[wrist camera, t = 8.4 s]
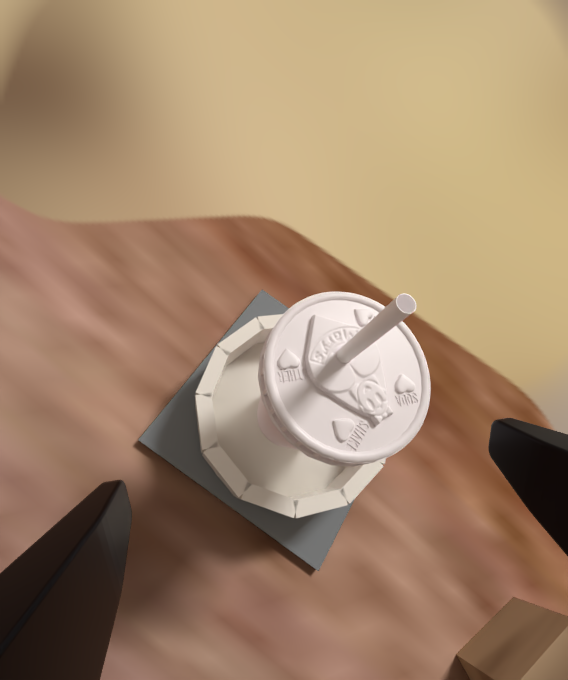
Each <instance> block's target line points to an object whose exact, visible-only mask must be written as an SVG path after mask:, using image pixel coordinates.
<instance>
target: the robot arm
mask: <svg viewBox="0 0 568 680" xmlns="http://www.w3.org/2000/svg"><path fill="white" fill-rule="evenodd" d="M489 453H490V456H491V458H492V459H493V461H494V462H495V464H496V465H497V466H498V468H499V469H500V471H501V472H502V473H503V475H504V476H505V478H506V479H507V480H508V482H509V483H510V485H511V486H512V487H513V489H514V490H515V492H516V493H517V495H518V496H519V497H520V499H521V500H522V502H523V503H524V504H525V506H526V507H527V508H528V510H529V511H530V512H531V513H532V515H533V516H534V517H535V518H536V519H537V521H538V522H539V523H540V524H541V525H542V527H543V528H544V529H545V530H546V531H547V532H548V534H549V535H550V536H551V537H552V538H553V539H554V541H555V542H556V543H557V544H558V545H559V547H560V548H561V549H562V550H563V551H564V552H565V554H566V555H567V556H568V435H567V434H564V433H561V432H557V431H554V430H550V429H547V428H543V427H540V426H537V425H533V424H530V423H526V422H523V421H519V420H516V419H513V418H505V419H499V420H495V421H494V422H493V423H492V426H491V432H490V440H489ZM131 521H132V511H131V506H130V502H129V498H128V494H127V490H126V486H125V483H124V482H123V481H122V480H115V481H108V482H104V483H102V484H101V485H99V486H98V487H97V488H96V489H95V490H94V491H93V492H92V493H90V494H89V495H88V496H87V497H86V498H85V499H84V500H83V501H81V502H80V503H79V504H78V505H77V506H76V507H75V508H73V509H72V510H71V511H70V512H69V513H68V514H67V515H66V516H64V517H63V518H62V519H61V520H60V521H59V522H58V523H57V524H55V525H54V526H53V527H52V528H51V529H50V530H49V531H47V532H46V533H45V534H44V535H43V536H42V537H41V538H40V539H38V540H37V541H36V542H35V543H34V544H33V545H32V546H31V547H29V548H28V549H27V550H26V551H25V552H24V553H23V554H22V555H20V556H19V557H18V558H17V559H16V560H15V561H14V562H12V563H11V564H10V565H9V566H8V567H7V568H6V569H5V570H3V571H2V572H1V573H0V680H100V677H101V673H102V669H103V665H104V661H105V657H106V653H107V649H108V645H109V641H110V637H111V633H112V629H113V625H114V621H115V617H116V613H117V609H118V605H119V600H120V596H121V591H122V585H123V579H124V572H125V564H126V557H127V550H128V543H129V535H130V528H131Z"/></svg>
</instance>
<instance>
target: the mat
mask: <svg viewBox="0 0 568 680" xmlns="http://www.w3.org/2000/svg"><path fill="white" fill-rule="evenodd" d="M288 309H289V308H287V307H286V306H285V305H283V304H282V303H280V302H279V301H278V300H276V299H275V298H273V297H272V296H270V295H269V294H268V293H266V292H265V291H263V290H261V292H260V293H259V294H258V295H257V296H256V298H255V299H254V300H253V301H252V302H251V304H250V305H249V306H248V307H247V309H246V310H245V311H244V312H243V313H242V315H241V316H240V317H239V318H238V319H237V321H236V322H235V323H234V324H233V326H232V327H231V328H230V329H229V330H228V332H227V333H226V334H225V335H224V336H223V338H222V339H221V340H220V341H219V343H220V342H221V341H223V340H224V339H226V338H227V337H229V336H230V335H231V334H233V333H234V332H236V331H237V330H238V329H240V328H241V327H243V326H244V325H245V324H247V323H248V322H250V321H251V320H253V319H254V318H255V317H256V318H257V317H258V316H268V315H278V314H284V313H285V312H286V311H287V310H288ZM219 343H218V344H219ZM218 344H217V345H218ZM217 345H216V346H217ZM216 346H215V347H216ZM215 347H214V349H213V350H212V351H211V352H210V353H209V355H208V356H207V357H206V358H205V360H204V361H203V362H202V363H201V364H200V366H199V367H198V368H197V369H196V370H195V372H194V373H193V374H192V375H191V377H190V378H189V379H188V380H187V381H186V383H185V384H184V385H183V386H182V387H181V389H180V390H179V391H178V392H177V394H176V395H175V396H174V397H173V398H172V400H171V401H170V402H169V403H168V404H167V406H166V407H165V408H164V409H163V411H162V412H161V413H160V414H159V415H158V417H157V418H156V419H155V420H154V421H153V423H152V424H151V425H150V426H149V428H148V429H147V430H146V431H145V432H144V434H143V435H142V436H141V437H140V438H139V441H140V442H142V443H143V444H145V445H146V446H147V447H149V448H150V449H151V450H153V451H154V452H156V453H157V454H158V455H160V456H161V457H162V458H164V459H165V460H166V461H168V462H169V463H171V464H172V465H173V466H175V467H176V468H177V469H179V470H180V471H182V472H183V473H184V474H186V475H187V476H188V477H190V478H191V479H193V480H194V481H195V482H197V483H198V484H199V485H201V486H202V487H204V488H205V489H206V490H208V491H209V492H210V493H212V494H213V495H215V496H216V497H217V498H219V499H220V500H221V501H223V502H224V503H226V504H227V505H228V506H230V507H231V508H232V509H234V510H235V511H237V512H238V513H239V514H241V515H242V516H243V517H245V518H246V519H248V520H249V521H250V522H252V523H253V524H254V525H256V526H257V527H259V528H260V529H261V530H263V531H264V532H265V533H267V534H268V535H269V536H271V537H272V538H274V539H275V540H276V541H278V542H279V543H280V544H282V545H283V546H285V547H286V548H287V549H289V550H290V551H291V552H293V553H294V554H296V555H297V556H298V557H300V558H301V559H302V560H304V561H305V562H307V563H308V564H309V565H311V566H312V567H313V568H315V569H316V570H318V571H319V569H320V567H321V565H322V563H323V561H324V559H325V557H326V555H327V553H328V551H329V549H330V547H331V545H332V543H333V541H334V539H335V537H336V535H337V533H338V531H339V529H340V527H341V525H342V523H343V521H344V519H345V517H346V515H347V513H348V511H349V509H350V507H351V505H352V503H353V501H354V500H353V501H352V502H351V503H350V504H348V503H347V504H348V505H346V506H342V507H339V508H335V509H331V510H327V511H323V512H319V513H315V514H311V515H307V516H303V517H300V518H292V517H289V516H286V515H284V514H281V513H278V512H275V511H272V510H270V509H267V508H264V507H261V506H258V505H255V504H253V503H250V502H247V501H244V500H241V499H239V498H236V496H233V494H232V493H231V492H230V490H229V489H228V488H227V487H226V485H225V484H224V483H223V482H222V481H221V479H220V478H219V477H218V476H217V475H216V473H215V472H214V470H213V469H212V468H211V466H210V465H209V464H208V462H207V461H206V460H205V459H204V457H203V456H202V455H203V453H201V447H200V439H199V432H198V423H197V415H196V407H195V395H196V391H197V388H198V386H199V384H200V381H201V379H202V377H203V375H204V372H205V370H206V368H207V366H208V363H209V361H210V359H211V356H212V354H213V352H214V350H215Z"/></svg>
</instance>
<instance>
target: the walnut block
mask: <svg viewBox="0 0 568 680" xmlns="http://www.w3.org/2000/svg"><path fill="white" fill-rule="evenodd" d="M456 655H457V657H458V659H459V660H460V662H461V664H462V666H463V668H464V669H465V671H466V673H467V675H468V677H469V678H470V680H568V616H565V615H562V614H560V613H557V612H554V611H551V610H549V609H546V608H543V607H540V606H537V605H535V604H532V603H529V602H526V601H524V600H521V599H518V598H515V597H513V598H512V599H511V600H510V601H509V602H508V603H507V604H506V605H505V606H504V607H503V608H502V609H501V610H500V611H499V612H498V613H497V614H496V615H495V616H494V617H493V618H492V619H491V620H490V621H489V622H488V623H487V624H486V625H485V626H484V627H483V628H482V629H481V630H480V631H479V632H478V633H477V634H476V635H475V636H474V637H473V638H472V639H471V640H470V641H469V642H468V643H467V644H466V645H465V646H464V647H463V648H462V649H461V650H460V651H459V652H458V653H457V654H456Z"/></svg>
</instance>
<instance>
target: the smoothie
mask: <svg viewBox="0 0 568 680" xmlns="http://www.w3.org/2000/svg"><path fill="white" fill-rule="evenodd" d="M415 310H416V302H415V300H414V299H413V297H411V296H410V295H408V294H400V295H399V296H397V297H396V298H395V299H394V300H393V301H392V302H391V303H390V304H389V305H388V306H386V307H385V306H383V305H381V304H380V303H378V302H376V301H374V300H372V299H369V298H367V297H364V296H361V295H357V294H353V293H347V292H326V293H320V294H316V295H313V296H310V297H307V298H305V299H303V300H301V301H299V302H298V303H296V304H295V305H293V306H292V307H291V308H289V309H288V310H287V311H286V312H285V313H284V314H283V315H282V316H281V318H280V319H279V320H278V321H277V323H276V324H275V326H274V328H273V329H272V330H271V331H270V333H269V334H268V335H267V338H266V341H265V343H264V346H263V348H262V351H261V353H260V359H259V370H258V381H259V387H260V392H261V395H260V400H259V405H258V410H257V419H258V424H259V427H260V429H261V431H262V433H263V434H264V435H265V437H266V438H267V439H268V440H270V441H271V442H272V443H274V444H276V445H278V446H282V447H287V448H292V449H298V450H300V451H301V452H302V453H304V454H305V455H307V456H308V457H311V458H313V459H316V460H319V461H321V462H324V463H326V464H329V465H336V466H349V467H355V466H360V465H364V464H369V463H374V462H376V461H379V460H382V459H385V458H387V457H390V456H391V455H393V454H395V453H397V452H398V451H400V450H401V449H402V448H404V447H405V446H406V445H407V444H408V443H409V442H410V441H411V440H412V439H413V438H414V437H415V435H416V434H417V432H418V431H419V429H420V428H421V426H422V424H423V422H424V419H425V417H426V414H427V411H428V407H429V401H430V375H429V370H428V366H427V362H426V359H425V356H424V354H423V351H422V349H421V347H420V345H419V343H418V341H417V340H416V338H415V336H414V335H413V333H412V332H411V331H410V329H409V328H408V327H407V326H406V325H405V323H404V322H403V320H404V319H405V318H406V317H408V316H409V315H410V314H412V313H413V312H414V311H415Z"/></svg>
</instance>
